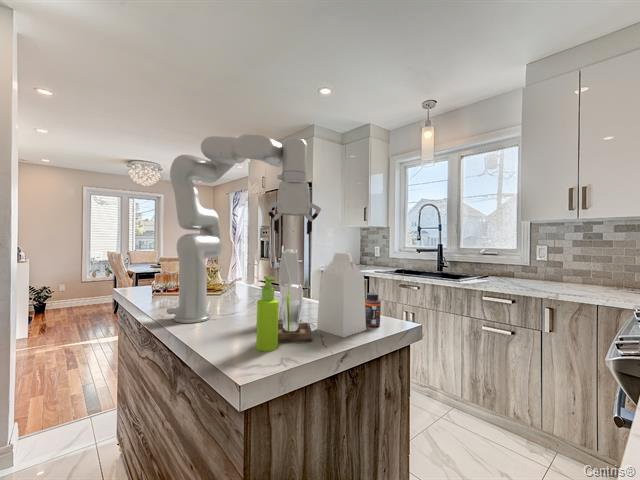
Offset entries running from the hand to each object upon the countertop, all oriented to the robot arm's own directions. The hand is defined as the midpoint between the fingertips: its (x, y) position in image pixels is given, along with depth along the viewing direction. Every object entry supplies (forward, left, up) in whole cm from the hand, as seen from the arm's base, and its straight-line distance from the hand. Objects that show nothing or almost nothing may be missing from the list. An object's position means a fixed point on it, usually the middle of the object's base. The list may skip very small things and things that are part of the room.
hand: (292, 233), depth 100 cm
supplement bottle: (+29, +11, -32) cm, 45 cm away
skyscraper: (-1, +18, -32) cm, 37 cm away
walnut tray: (0, 0, -32) cm, 32 cm away
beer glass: (0, 0, -31) cm, 31 cm away
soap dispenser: (-7, -11, -32) cm, 35 cm away
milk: (+17, +6, -32) cm, 37 cm away
